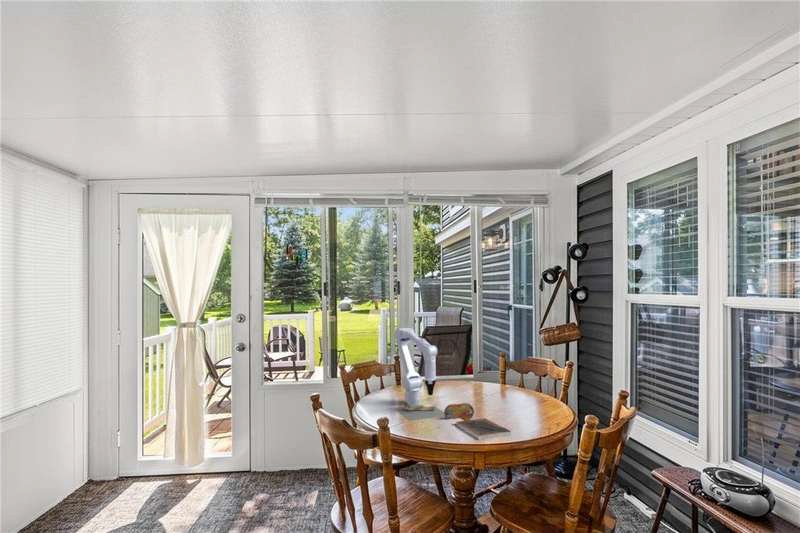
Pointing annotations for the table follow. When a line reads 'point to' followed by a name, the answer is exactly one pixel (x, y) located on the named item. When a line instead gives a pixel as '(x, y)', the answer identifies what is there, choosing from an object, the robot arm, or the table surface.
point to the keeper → (416, 403)
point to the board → (421, 413)
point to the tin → (459, 411)
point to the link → (420, 407)
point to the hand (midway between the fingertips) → (430, 394)
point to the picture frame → (483, 428)
